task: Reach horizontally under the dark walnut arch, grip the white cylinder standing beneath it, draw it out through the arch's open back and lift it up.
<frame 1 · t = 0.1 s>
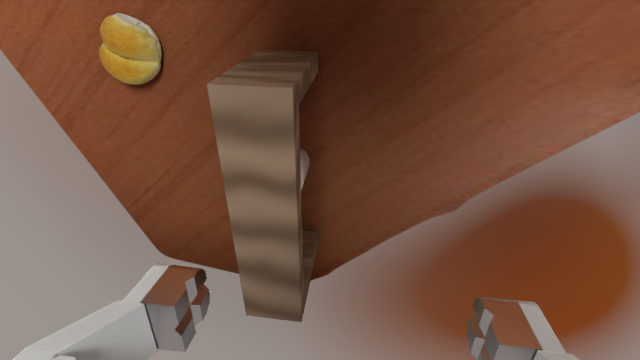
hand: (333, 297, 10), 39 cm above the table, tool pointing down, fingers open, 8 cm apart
bread roll: (136, 48, 47), on the table
white cylinder: (293, 160, 53), on the table
arch: (293, 160, 53), on the table
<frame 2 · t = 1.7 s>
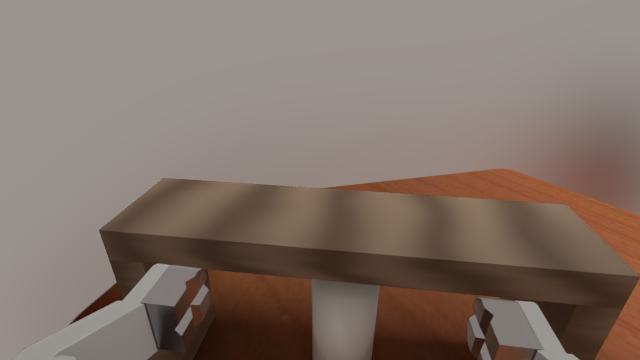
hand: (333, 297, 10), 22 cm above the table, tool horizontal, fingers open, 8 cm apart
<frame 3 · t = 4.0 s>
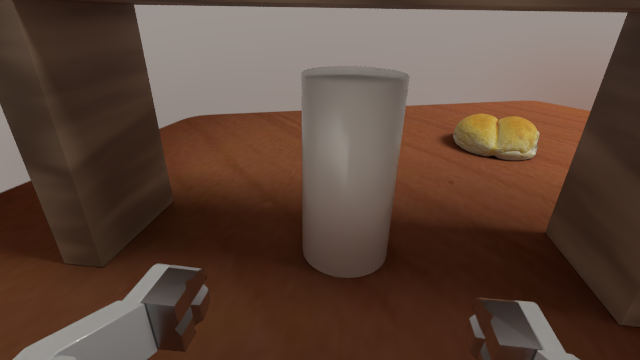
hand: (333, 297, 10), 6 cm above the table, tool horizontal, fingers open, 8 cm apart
bread roll: (493, 150, 40), on the table
white cylinder: (344, 248, 22), on the table
arch: (344, 248, 22), on the table
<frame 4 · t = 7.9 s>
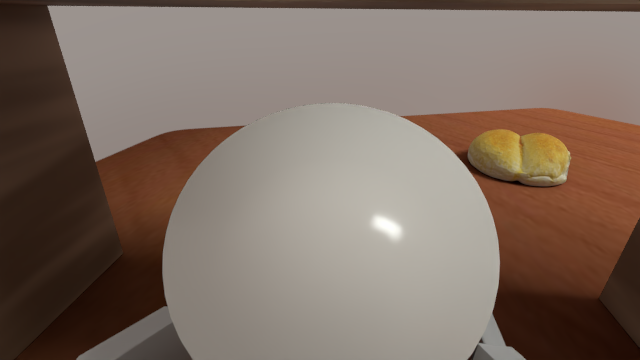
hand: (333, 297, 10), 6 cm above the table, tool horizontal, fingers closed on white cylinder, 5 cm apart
bread roll: (514, 172, 34), on the table
white cylinder: (337, 320, 15), point 2 cm above the table, tilted 34°, touching gripper
arch: (337, 330, 16), on the table
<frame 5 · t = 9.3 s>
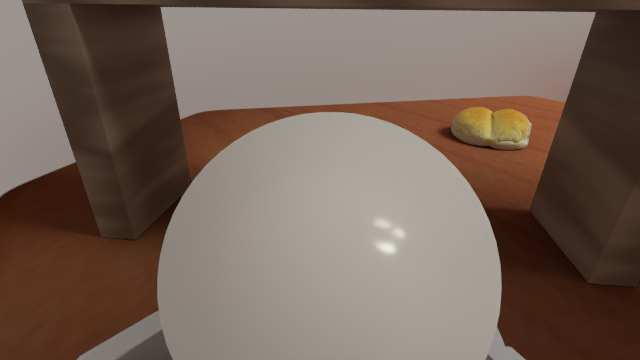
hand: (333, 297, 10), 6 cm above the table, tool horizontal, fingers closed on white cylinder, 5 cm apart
bread roll: (488, 141, 42), on the table
white cylinder: (338, 309, 15), point 2 cm above the table, tilted 38°, touching gripper
arch: (348, 224, 24), on the table
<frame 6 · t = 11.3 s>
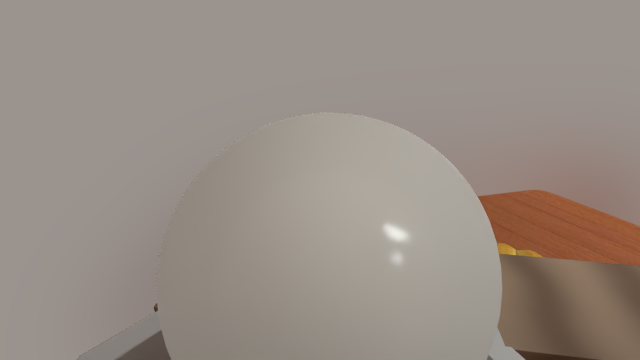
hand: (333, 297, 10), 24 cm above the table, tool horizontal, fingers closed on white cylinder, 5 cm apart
bread roll: (512, 277, 46), on the table
white cylinder: (338, 310, 15), point 20 cm above the table, tilted 38°, touching gripper
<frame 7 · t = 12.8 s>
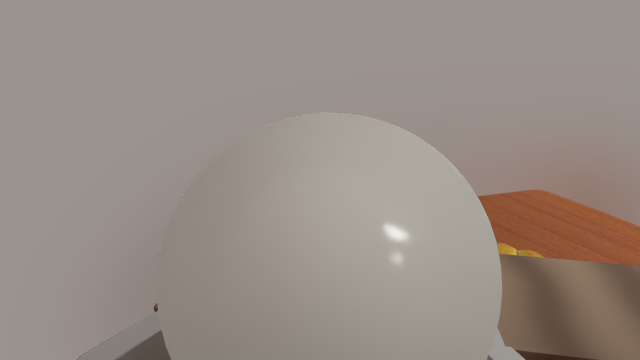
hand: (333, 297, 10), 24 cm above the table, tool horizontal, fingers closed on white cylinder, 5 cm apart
bread roll: (512, 277, 46), on the table
white cylinder: (338, 310, 15), point 20 cm above the table, tilted 38°, touching gripper
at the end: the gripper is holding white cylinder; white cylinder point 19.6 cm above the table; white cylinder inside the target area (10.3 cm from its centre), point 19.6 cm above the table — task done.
